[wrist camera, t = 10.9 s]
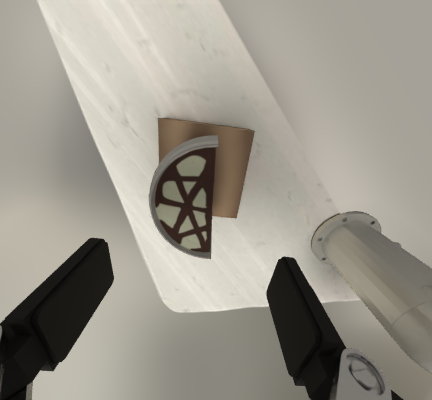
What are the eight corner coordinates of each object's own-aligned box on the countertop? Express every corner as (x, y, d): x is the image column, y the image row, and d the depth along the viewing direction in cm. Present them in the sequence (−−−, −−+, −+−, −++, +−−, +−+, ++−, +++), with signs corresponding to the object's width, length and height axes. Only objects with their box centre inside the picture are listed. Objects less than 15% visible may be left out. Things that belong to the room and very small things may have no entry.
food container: (166, 126, 21) (132, 132, 12) (216, 129, 21) (218, 138, 12) (171, 212, 27) (150, 261, 18) (211, 214, 27) (210, 263, 18)
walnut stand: (248, 129, 25) (254, 131, 22) (233, 206, 31) (236, 218, 27) (166, 118, 24) (158, 118, 21) (166, 199, 30) (160, 210, 26)
